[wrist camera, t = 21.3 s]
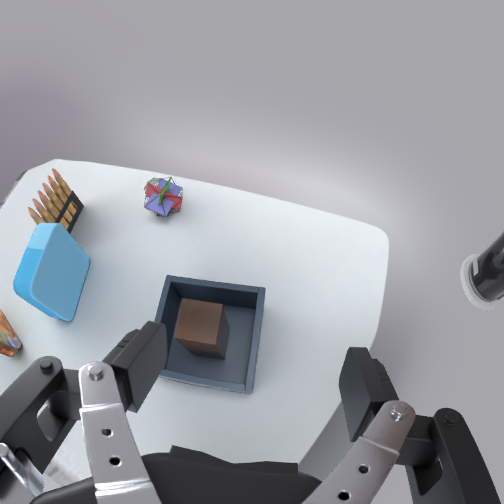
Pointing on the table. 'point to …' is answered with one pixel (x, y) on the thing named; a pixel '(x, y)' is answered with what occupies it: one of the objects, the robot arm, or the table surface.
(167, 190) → the geometric puzzle
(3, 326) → the tin
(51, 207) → the ammunition clip
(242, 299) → the bin
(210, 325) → the block
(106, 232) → the table surface
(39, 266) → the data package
